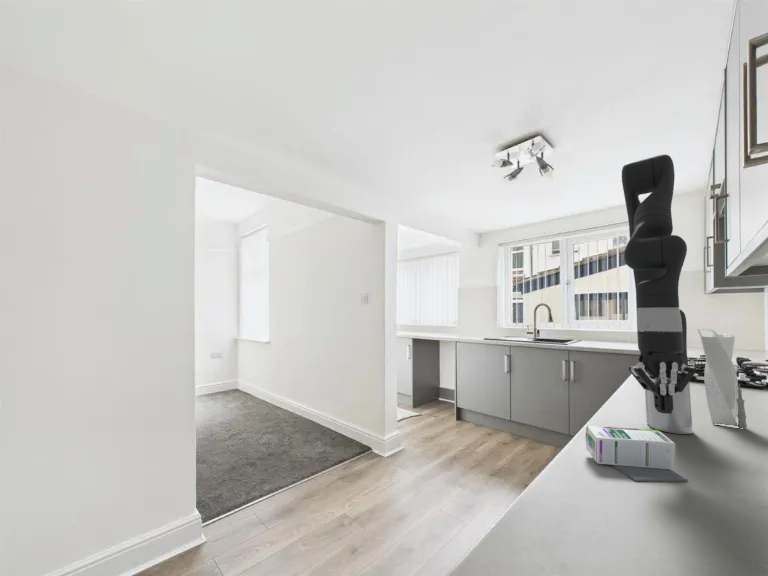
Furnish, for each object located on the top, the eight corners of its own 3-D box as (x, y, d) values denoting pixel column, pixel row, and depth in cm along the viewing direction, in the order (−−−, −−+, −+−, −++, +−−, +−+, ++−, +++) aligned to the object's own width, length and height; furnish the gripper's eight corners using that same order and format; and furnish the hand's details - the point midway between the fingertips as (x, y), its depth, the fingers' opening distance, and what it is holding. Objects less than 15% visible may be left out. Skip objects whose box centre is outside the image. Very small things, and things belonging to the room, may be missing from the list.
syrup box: (676, 442, 68) (596, 436, 71) (675, 471, 68) (595, 463, 71) (659, 429, 73) (585, 424, 76) (658, 456, 74) (584, 449, 77)
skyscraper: (706, 425, 99) (699, 328, 101) (702, 418, 105) (696, 327, 107) (748, 431, 94) (740, 329, 96) (741, 423, 100) (734, 328, 102)
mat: (595, 455, 76) (595, 453, 76) (640, 455, 76) (640, 453, 76) (635, 481, 64) (635, 479, 64) (687, 481, 64) (687, 479, 64)
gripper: (674, 328, 76) (679, 408, 75) (616, 328, 76) (620, 407, 75) (706, 330, 69) (712, 418, 67) (641, 329, 69) (646, 417, 67)
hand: (664, 412), depth 71 cm, fingers closed
